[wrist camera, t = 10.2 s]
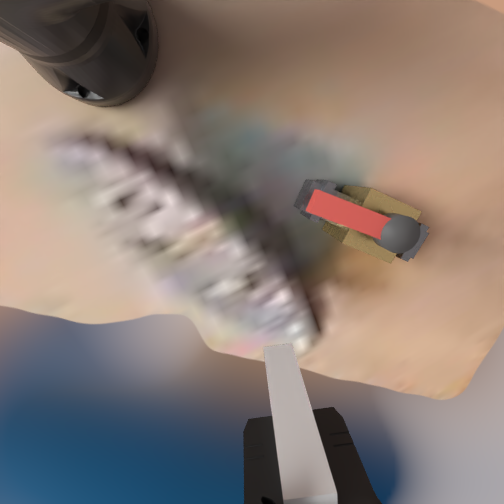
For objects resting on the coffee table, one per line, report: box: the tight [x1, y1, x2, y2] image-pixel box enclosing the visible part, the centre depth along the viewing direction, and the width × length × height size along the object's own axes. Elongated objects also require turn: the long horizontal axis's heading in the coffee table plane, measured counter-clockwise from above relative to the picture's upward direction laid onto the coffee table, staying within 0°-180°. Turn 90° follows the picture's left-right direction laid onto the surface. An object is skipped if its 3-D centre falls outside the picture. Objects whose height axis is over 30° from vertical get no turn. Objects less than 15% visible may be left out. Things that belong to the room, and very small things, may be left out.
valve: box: [294, 180, 429, 264], centre depth 34 cm, size 18×7×10 cm, turn 67°
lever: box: [306, 189, 420, 253], centre depth 28 cm, size 12×4×2 cm, turn 69°
